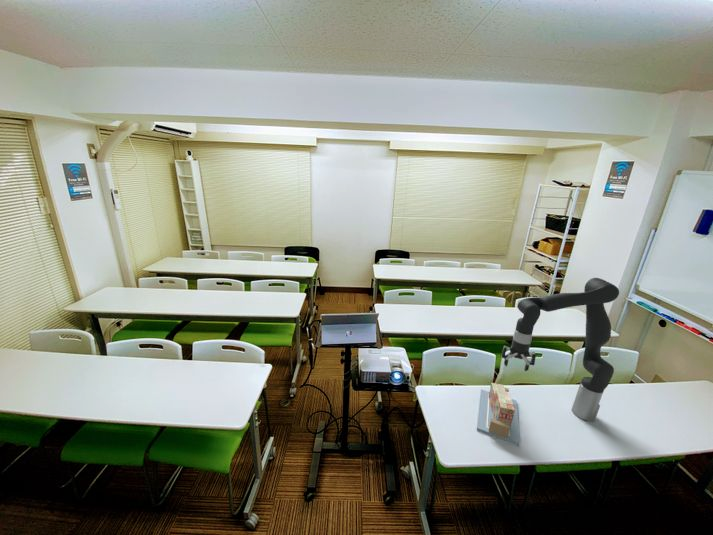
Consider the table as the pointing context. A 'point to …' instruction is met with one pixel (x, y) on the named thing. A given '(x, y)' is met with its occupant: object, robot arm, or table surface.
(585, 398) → the robot arm
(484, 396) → the board
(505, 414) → the stack of blocks
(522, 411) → the table surface
